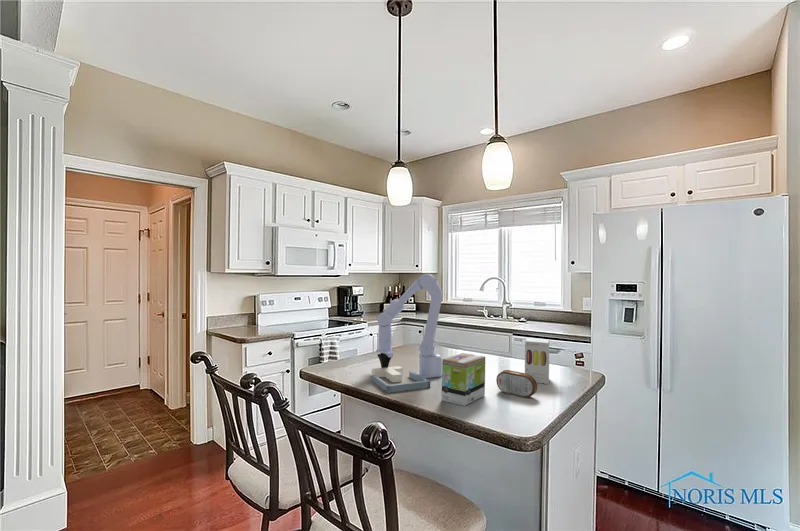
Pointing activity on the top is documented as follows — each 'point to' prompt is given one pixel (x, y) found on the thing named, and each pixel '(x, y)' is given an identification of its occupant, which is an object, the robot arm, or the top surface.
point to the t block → (389, 373)
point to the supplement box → (537, 359)
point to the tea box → (463, 378)
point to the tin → (516, 383)
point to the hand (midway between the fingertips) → (384, 370)
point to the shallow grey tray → (388, 388)
